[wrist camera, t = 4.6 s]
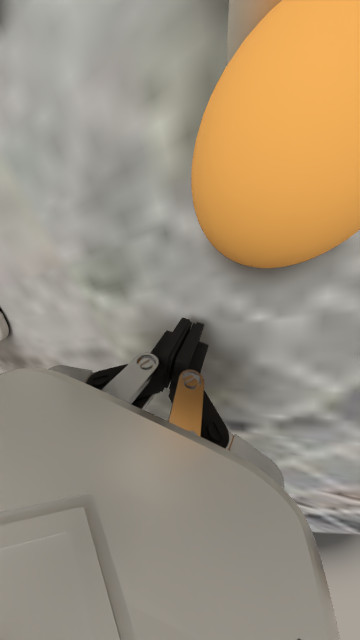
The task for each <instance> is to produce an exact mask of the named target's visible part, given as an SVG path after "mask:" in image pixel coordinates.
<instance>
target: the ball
mask: <svg viewBox="0 0 360 640" xmlns="http://www.w3.org/2000/svg"><path fill="white" fill-rule="evenodd" d="M192 196H193V203H194V208H195V212H196V215H197V218H198V221H199V224H200V226H201V228H202V230H203V232H204V234H205V235H206V237H207V238H208V240H209V241H210V242H211V244H212V245H213V246H214V247H215V248H216V249H217V250H218V251H219V252H220V253H222V254H223V255H224V256H225V257H227V258H229V259H231V260H232V261H235V262H237V263H239V264H242V265H246V266H250V267H257V268H276V267H285V266H290V265H294V264H297V263H301V262H304V261H307V260H309V259H312V258H314V257H316V256H319V255H321V254H323V253H325V252H327V251H329V250H330V249H332V248H334V247H336V246H337V245H339V244H340V243H342V242H344V241H345V240H347V239H348V238H349V237H351V236H352V235H353V234H355V233H356V232H357V231H358V230H360V0H282V1H281V2H280V3H278V4H277V5H276V6H275V7H274V8H273V9H272V10H270V11H269V12H268V13H267V15H266V16H265V17H264V18H263V19H262V20H261V21H260V22H259V23H258V25H257V26H256V27H255V28H254V29H253V30H252V32H251V33H250V34H249V35H248V36H247V37H246V38H245V40H244V41H243V43H242V44H241V46H240V47H239V49H238V50H237V51H236V53H235V54H234V56H233V57H232V59H231V60H230V62H229V63H228V65H227V66H226V68H225V70H224V71H223V73H222V75H221V77H220V79H219V81H218V83H217V85H216V87H215V89H214V91H213V93H212V95H211V97H210V100H209V102H208V105H207V107H206V110H205V112H204V114H203V118H202V121H201V125H200V128H199V131H198V135H197V139H196V143H195V149H194V155H193V162H192Z"/></svg>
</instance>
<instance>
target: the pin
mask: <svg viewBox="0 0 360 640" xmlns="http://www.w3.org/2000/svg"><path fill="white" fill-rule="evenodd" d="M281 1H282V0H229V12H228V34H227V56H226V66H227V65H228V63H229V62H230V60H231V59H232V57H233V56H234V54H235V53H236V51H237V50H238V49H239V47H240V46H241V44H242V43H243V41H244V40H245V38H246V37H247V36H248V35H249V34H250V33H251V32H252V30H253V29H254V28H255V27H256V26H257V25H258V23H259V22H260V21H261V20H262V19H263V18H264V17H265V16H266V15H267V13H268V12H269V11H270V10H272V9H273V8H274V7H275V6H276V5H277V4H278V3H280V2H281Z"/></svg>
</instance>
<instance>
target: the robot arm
mask: <svg viewBox="0 0 360 640" xmlns="http://www.w3.org/2000/svg"><path fill="white" fill-rule="evenodd" d="M189 321H190V320H189V319H186V318H182V319H181V320H180V322H179V323H178V325H177V327H176V328H175V330H174V331H173V332H170V331H168V330H167V331H166V332H165V333H164V335H163V336H162V338H161V339H160V341H159V342H158V343H157V345H156V346H155V348H154V349H153V350H152V352H151V353H142V354H140V355H138V356H137V357H136V358H135V359H134V360H133V361H132V362H130V363H129V364H126V365H122V366H118V367H114V368H110V369H105V370H101V371H98V372H95V373H93V372H92V371H91V370H86V369H80V368H74V367H69V366H63V365H58V366H54V367H52V368H50V369H40V368H20V369H14V370H10V371H7V372H5V373H2V374H0V640H340V636H339V632H338V627H337V622H336V618H335V613H334V609H333V605H332V601H331V597H330V593H329V588H328V585H327V580H326V576H325V572H324V569H323V565H322V561H321V558H320V555H319V551H318V548H317V545H316V542H315V539H314V537H313V534H312V531H311V528H310V526H309V524H308V522H307V520H306V518H305V516H304V514H303V513H302V511H301V510H300V508H299V507H298V506H297V504H296V503H295V502H294V500H293V499H292V498H291V497H290V496H289V495H288V493H287V492H286V491H285V490H284V478H283V476H282V473H281V471H280V469H279V468H278V466H277V465H276V464H275V463H274V462H273V461H272V460H271V459H269V458H268V457H267V456H265V455H264V454H262V453H261V452H260V451H258V450H257V449H255V448H254V447H253V446H251V445H250V444H248V443H247V442H246V441H244V440H243V439H241V438H240V437H239V436H237V435H236V434H235V435H233V434H231V433H230V432H229V431H228V430H227V427H226V426H225V424H224V422H223V421H222V419H221V417H220V416H219V414H218V412H217V411H216V409H215V407H214V406H213V404H212V402H211V401H210V399H209V397H208V396H207V394H206V393H205V391H204V379H203V377H202V375H201V374H200V372H201V368H202V365H203V362H204V358H205V355H206V352H207V348H208V345H207V344H204V343H202V342H199V340H200V337H201V334H202V330H203V327H204V324H201V323H198V322H197V323H196V324H195V323H193V325H192V327H191V324H192V322H189ZM190 328H191V329H190ZM8 334H9V328H8V325H7V322H6V320H5V318H4V316H3V314H2V313H1V311H0V340H2V339H4V338H6V337H7V336H8ZM170 381H171V384H170ZM169 384H170V388H169V389H170V394H169V397H170V400H171V402H172V408H171V412H170V416H169V421H166V420H164V419H162V418H159V417H157V416H155V415H153V414H151V413H149V412H146V411H144V409H145V408H146V407H147V405H148V404H149V402H150V401H151V400H152V398H153V397H154V395H155V394H156V393H159V392H160V391H162V392H163V390H164V388H168V386H169Z"/></svg>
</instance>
